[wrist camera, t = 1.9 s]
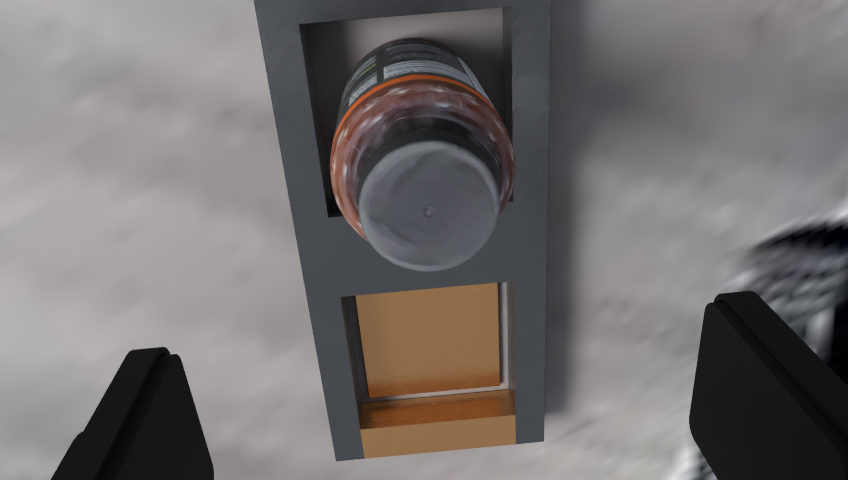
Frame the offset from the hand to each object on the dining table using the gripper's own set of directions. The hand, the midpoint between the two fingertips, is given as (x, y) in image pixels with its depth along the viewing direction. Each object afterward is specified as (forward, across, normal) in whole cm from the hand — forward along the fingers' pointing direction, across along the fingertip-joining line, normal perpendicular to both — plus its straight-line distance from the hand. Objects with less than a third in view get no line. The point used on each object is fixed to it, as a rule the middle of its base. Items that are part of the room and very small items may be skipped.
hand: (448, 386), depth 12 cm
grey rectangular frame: (+18, 0, +6) cm, 19 cm away
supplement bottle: (+19, 0, 0) cm, 19 cm away
